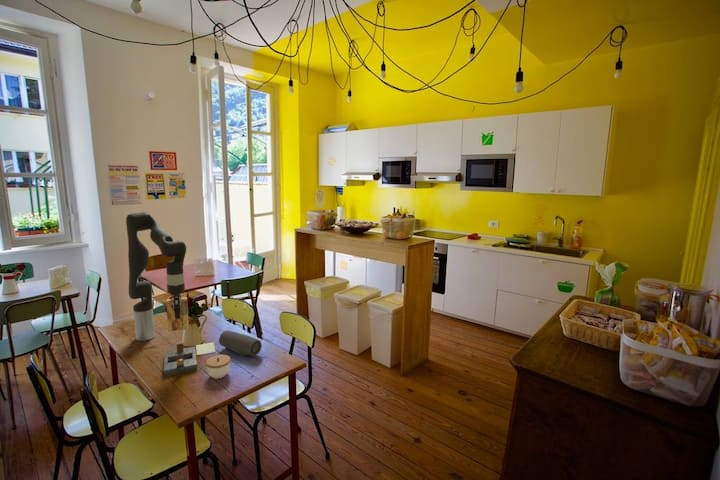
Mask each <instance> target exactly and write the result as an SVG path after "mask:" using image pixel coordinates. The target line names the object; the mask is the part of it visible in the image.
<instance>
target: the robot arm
mask: <svg viewBox="0 0 720 480" xmlns="http://www.w3.org/2000/svg"><path fill="white" fill-rule="evenodd" d="M125 225H126V232H127V234H126V235H127V242H128V251H127V252H128V253H127V254H128V255H127V258H128V272H129V275H128V276H129V277H128V296H129V299H131V300H138V299H142V300H140V301H139V302H136V303H135V304H134V305H133V307H132V308H133V319H134V330H135V340H136V341H138V342H146V341H149V340H152V339H153V338H155V336H156V334H155V321H154V312H153V311H154V310H153V309H154V308H153V287H152V282H151V281H150V280H143V281H142V280H141V281H138V279H139V277H140V276H141V275H142V273H143V272H144V271H145V270H146V268H147V266H148V265H149V264H150V260H149V259H150V255H149V254H150V253H149V250H148V248H147V247H146V246H145V245H144V244H143V243H142V242H141V241H140V239H139V237H138V233H139V232H143V231H148V230H149V231H150V233H149V236H150V237H149V238H150V239H151V241H152V242H153V243H154V244H155V245H156V246H158V248H159V250H160V252H161V255H162V256H163V257H166V258H171V257H174V258H173V259H172V260H170V261H167V262H166V267H165V268H166V292H167V293H168V294H169V295H171V299H172V300H173V306H174V311H175V318H180V305H181V298H182V294H183V293H184V292H185V291H186V286H185V283H186V282H185V274H184V261H185V257H186V253H187V246H186V243H185V242H184V241H183V240H173V237H172V236H171V235H170V234H168V233H167V232H166V231H165V230H163V229H162V227H161V226H160V225H159V223H158V222H157V221H156V219H155V218H154V217H153V216H152V215H151V214H150V213H149V212H146V211H145V212H144V211H142V212H136V213H129V214H127V216H126V219H125ZM179 300H180V301H179ZM175 307H179V308H176V309H175Z"/></svg>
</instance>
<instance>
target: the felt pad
mask: <svg viewBox="0 0 720 480" xmlns="http://www.w3.org/2000/svg"><path fill="white" fill-rule="evenodd" d="M195 350H196V357H198V356H202V355H204V356H205V355H210V354H215V353H216V348H215V343H214V342H207V343H202V344H196V345H195Z"/></svg>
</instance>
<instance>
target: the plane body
mask: <svg viewBox="0 0 720 480" xmlns="http://www.w3.org/2000/svg"><path fill="white" fill-rule="evenodd" d="M197 370H198V363H197V351H196V346H190V347H184V341H179V342H177V343H176V349H171V350H167V351H165V352H164V361H163V377H169V376H173V375H174V376H175V375H179V374H184V373H185V374H186V373H190V372H195V371H197Z"/></svg>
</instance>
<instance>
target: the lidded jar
mask: <svg viewBox="0 0 720 480" xmlns="http://www.w3.org/2000/svg"><path fill="white" fill-rule="evenodd" d="M205 368H206V372H207V374H208V375H209V376H210V377H211V378H212V379H215V380H218V379H219V378H220V379H222V377H223V378H224V377H226V375H228V373H229V371H230V369H231V357H230V356H229V355H226V354H216V355H214V356H210V357H209V358H208V359H207V360H206V361H205Z"/></svg>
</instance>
